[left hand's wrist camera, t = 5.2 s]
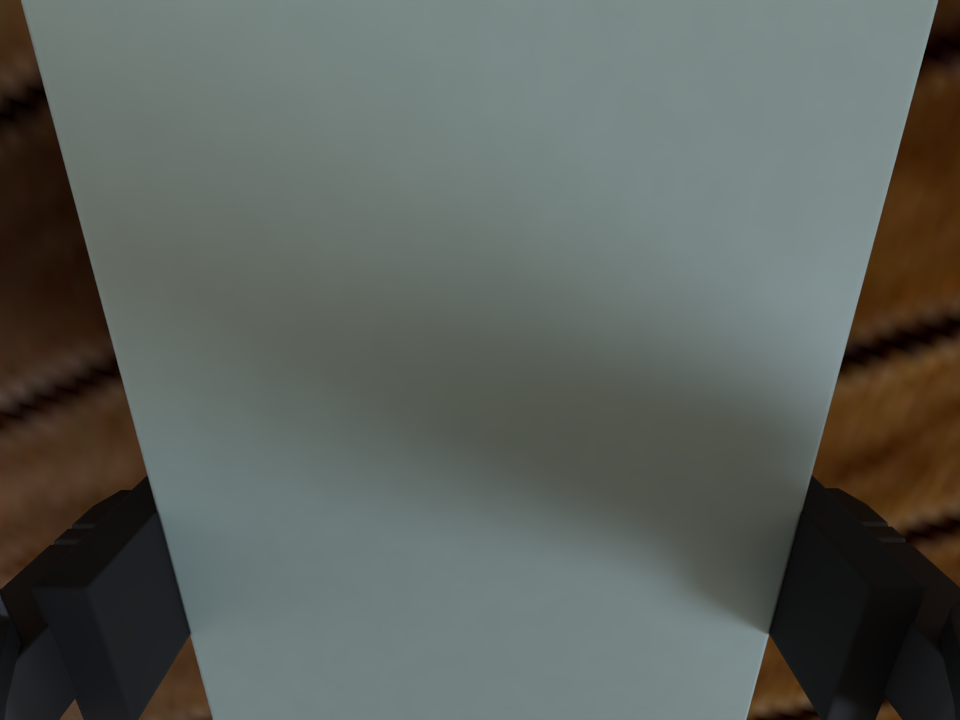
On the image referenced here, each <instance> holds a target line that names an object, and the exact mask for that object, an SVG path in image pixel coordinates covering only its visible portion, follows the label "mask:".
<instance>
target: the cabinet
mask: <svg viewBox="0 0 960 720" xmlns="http://www.w3.org/2000/svg"><path fill="white" fill-rule="evenodd" d="M21 2H22V6H23V10H24V14H25V17H26V21H27V25H28V29H29V32H30V36H31V40H32V44H33V47H34V51H35V55H36V59H37V62H38V66H39V70H40V74H41V77H42V81H43V85H44V89H45V92H46V96H47V100H48V104H49V107H50V111H51V115H52V119H53V122H54V126H55V130H56V134H57V137H58V141H59V145H60V149H61V152H62V156H63V160H64V163H65V167H66V171H67V175H68V178H69V182H70V186H71V190H72V193H73V197H74V201H75V205H76V208H77V212H78V216H79V220H80V223H81V227H82V231H83V235H84V238H85V242H86V246H87V250H88V253H89V257H90V261H91V265H92V268H93V272H94V276H95V280H96V283H97V287H98V291H99V295H100V298H101V302H102V306H103V310H104V313H105V317H106V321H107V325H108V328H109V332H110V336H111V340H112V343H113V347H114V351H115V355H116V358H117V362H118V366H119V369H120V373H121V377H122V381H123V384H124V388H125V392H126V396H127V399H128V403H129V407H130V411H131V414H132V418H133V422H134V426H135V429H136V433H137V437H138V441H139V444H140V448H141V452H142V456H143V459H144V463H145V467H146V471H147V474H148V478H149V482H150V486H151V489H152V493H153V497H154V501H155V504H156V508H157V512H158V516H159V519H160V523H161V527H162V531H163V534H164V538H165V542H166V546H167V549H168V553H169V557H170V561H171V564H172V568H173V572H174V575H175V579H176V583H177V587H178V590H179V594H180V598H181V602H182V605H183V609H184V613H185V617H186V620H187V624H188V628H189V632H190V635H191V639H192V643H193V647H194V650H195V654H196V658H197V662H198V665H199V669H200V673H201V677H202V680H203V684H204V688H205V692H206V695H207V699H208V703H209V707H210V710H211V714H212V718H213V720H746V718H747V715H748V711H749V707H750V703H751V700H752V696H753V692H754V688H755V685H756V681H757V677H758V673H759V670H760V666H761V662H762V658H763V655H764V651H765V647H766V643H767V640H768V636H769V632H770V628H771V625H772V621H773V617H774V613H775V610H776V606H777V602H778V598H779V595H780V591H781V587H782V583H783V580H784V576H785V572H786V568H787V565H788V561H789V557H790V553H791V550H792V546H793V542H794V538H795V535H796V531H797V527H798V523H799V520H800V516H801V512H802V508H803V505H804V501H805V497H806V493H807V490H808V486H809V482H810V478H811V475H812V471H813V467H814V463H815V460H816V456H817V452H818V448H819V445H820V441H821V437H822V433H823V430H824V426H825V422H826V419H827V415H828V411H829V407H830V404H831V400H832V396H833V392H834V389H835V385H836V381H837V377H838V374H839V370H840V366H841V362H842V359H843V355H844V351H845V347H846V344H847V340H848V336H849V332H850V329H851V325H852V321H853V317H854V314H855V310H856V306H857V302H858V299H859V295H860V291H861V287H862V284H863V280H864V276H865V272H866V269H867V265H868V261H869V257H870V254H871V250H872V246H873V242H874V239H875V235H876V231H877V227H878V224H879V220H880V216H881V212H882V209H883V205H884V201H885V197H886V194H887V190H888V186H889V182H890V179H891V175H892V171H893V167H894V164H895V160H896V156H897V152H898V149H899V145H900V141H901V137H902V134H903V130H904V126H905V122H906V119H907V115H908V111H909V108H910V104H911V100H912V96H913V93H914V89H915V85H916V81H917V78H918V74H919V70H920V66H921V63H922V59H923V55H924V51H925V48H926V44H927V40H928V36H929V33H930V29H931V25H932V21H933V18H934V14H935V10H936V6H937V3H938V0H21Z"/></svg>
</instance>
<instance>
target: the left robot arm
mask: <svg viewBox="0 0 960 720" xmlns="http://www.w3.org/2000/svg"><path fill="white" fill-rule="evenodd" d="M769 634H770V636H771V638H772V639H773V641H774V642H775V644H776V646H777V647H778V649H779V651H780V652H781V654H782V656H783V657H784V659H785V661H786V662H787V664H788V666H789V667H790V669H791V670H792V672H793V674H794V675H795V677H796V679H797V680H798V682H799V684H800V685H801V687H802V689H803V690H804V692H805V694H806V695H807V697H808V698H809V700H810V702H811V703H812V705H813V707H814V708H815V710H816V712H817V713H818V715H819V717H820V718H821V720H875V719H876V717H877V714H878V712H879V709H880V707H881V704H882V702H883V699H884V697H886V698H887V700H888V701H889V702H890V704H891V705H892V706H893V708H894V709H895V710H896V712H897V713H898V714H899V715H900V717H901V718H902V719H903V720H960V588H959V587H958V586H957V585H956V584H955V583H954V582H953V581H952V580H951V579H949V578H948V577H947V576H946V575H945V574H944V573H943V572H942V571H940V570H939V569H938V568H937V567H936V566H935V565H934V564H933V563H932V562H930V561H929V560H928V559H927V558H926V557H925V556H924V555H923V554H922V553H920V552H919V551H918V550H917V549H916V548H915V547H914V546H913V545H911V544H910V543H906V542H905V538H904V537H903V536H901V535H900V534H899V533H898V532H897V531H896V530H895V529H894V528H893V527H888V523H887V522H886V521H885V520H884V519H882V518H881V517H880V516H879V515H878V514H877V513H876V512H875V511H874V510H872V509H871V508H870V507H869V506H868V505H867V504H865V503H863V502H862V501H860V500H858V499H856V498H855V497H853V496H851V495H849V494H847V493H846V492H844V491H842V490H840V489H839V488H825V487H824V486H823V485H822V484H820V483H819V482H818V481H817V480H816V479H815V478H814V477H813V476H812V475H811V478H810V482H809V486H808V490H807V493H806V497H805V501H804V505H803V508H802V512H801V516H800V520H799V523H798V527H797V531H796V535H795V538H794V542H793V546H792V550H791V553H790V557H789V561H788V565H787V568H786V572H785V576H784V580H783V583H782V587H781V591H780V595H779V598H778V602H777V606H776V610H775V613H774V617H773V621H772V625H771V628H770V632H769ZM189 635H190V632H189V628H188V624H187V620H186V617H185V613H184V609H183V605H182V602H181V598H180V594H179V590H178V587H177V583H176V579H175V575H174V572H173V568H172V564H171V561H170V557H169V553H168V549H167V546H166V542H165V538H164V534H163V531H162V527H161V523H160V519H159V516H158V512H157V508H156V504H155V501H154V497H153V493H152V489H151V486H150V482H149V478H148V475H147V476H146V477H145V478H144V479H143V480H142V481H141V482H140V483H139V484H138V485H137V486H136V487H135V488H134V489H133V490H121V491H119V492H117V493H116V494H114V495H112V496H110V497H109V498H107V499H105V500H103V501H102V502H100V503H98V504H96V505H95V506H93V507H92V508H91V509H90V510H88V511H87V512H86V513H85V514H84V515H83V516H82V517H81V518H80V519H79V520H77V521H76V522H75V523H74V524H73V525H72V529H67V530H66V531H65V532H64V533H63V534H62V535H61V536H60V537H59V538H57V539H56V540H55V543H54V545H50V546H49V547H47V548H46V549H45V550H44V551H43V552H42V553H41V554H40V555H39V556H37V557H36V558H35V559H34V560H33V561H32V562H31V563H30V564H29V565H28V566H26V567H25V568H24V569H23V570H22V571H21V572H20V573H19V574H18V575H16V576H15V577H14V578H13V579H12V580H11V581H10V582H9V583H8V584H6V585H5V586H4V587H3V588H2V589H0V720H59V719H60V718H61V716H62V715H63V714H64V712H65V711H66V710H67V708H68V707H69V706H70V704H71V703H72V702H73V700H74V699H76V701H77V704H78V706H79V709H80V711H81V714H82V716H83V719H84V720H138V719H139V717H140V716H141V714H142V712H143V711H144V709H145V707H146V706H147V704H148V702H149V701H150V699H151V698H152V696H153V694H154V693H155V691H156V689H157V688H158V686H159V684H160V683H161V681H162V679H163V678H164V676H165V674H166V673H167V671H168V670H169V668H170V666H171V665H172V663H173V661H174V660H175V658H176V656H177V655H178V653H179V651H180V650H181V648H182V647H183V645H184V643H185V642H186V640H187V638H188V637H189Z"/></svg>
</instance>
